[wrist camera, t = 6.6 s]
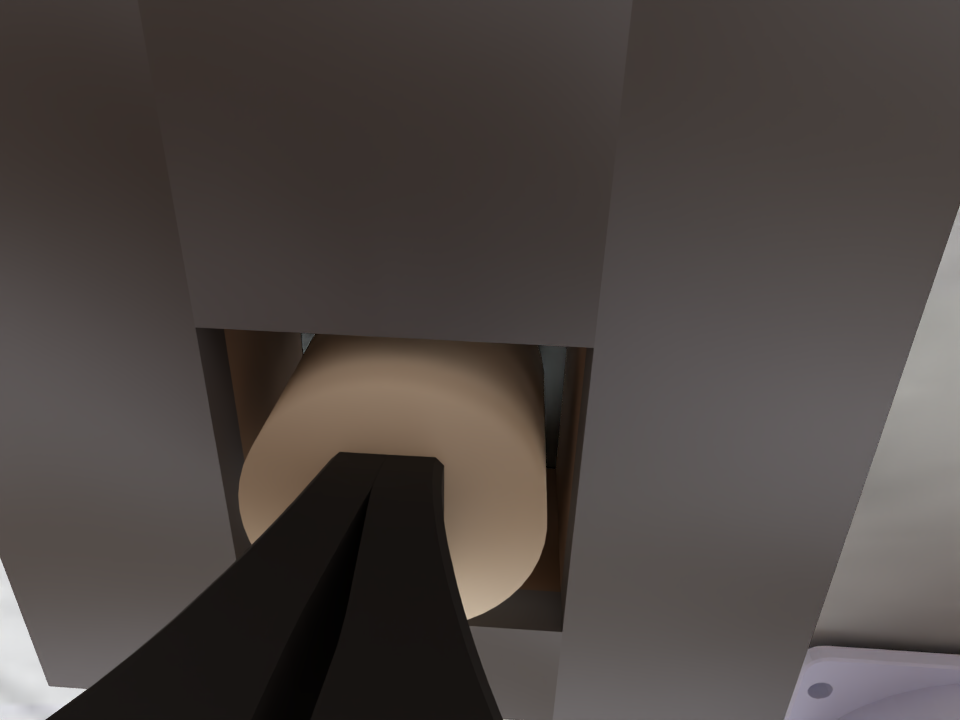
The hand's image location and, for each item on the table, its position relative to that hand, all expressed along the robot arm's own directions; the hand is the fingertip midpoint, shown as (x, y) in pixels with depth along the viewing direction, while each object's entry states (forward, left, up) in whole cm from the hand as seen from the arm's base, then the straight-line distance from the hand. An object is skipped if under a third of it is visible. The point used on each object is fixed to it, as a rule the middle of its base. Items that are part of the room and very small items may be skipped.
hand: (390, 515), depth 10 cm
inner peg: (0, 0, -4) cm, 4 cm away
